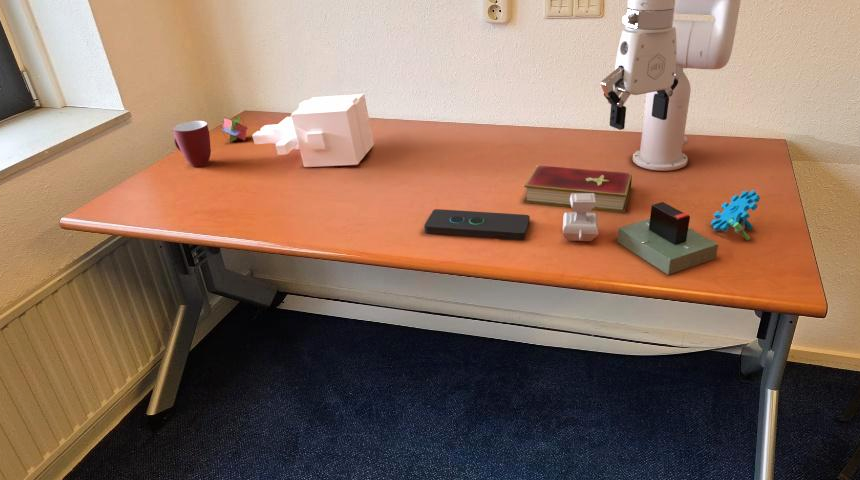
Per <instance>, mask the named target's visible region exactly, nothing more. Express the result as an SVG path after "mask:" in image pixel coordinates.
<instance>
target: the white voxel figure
mask: <svg viewBox="0 0 860 480" xmlns="http://www.w3.org/2000/svg"><path fill="white" fill-rule="evenodd" d="M372 131H373V130H372V126H371V122H370V117H369V111H368V106H367V101H366V95H365V93H354V94H341V95H325V96H312V97H310V99H307V100H302V101H300V103H298V108H297V109H296V110H294V111H293V112H292V113H291V114H290V116H286V117H284V119H282V120H281V121H280V122H279V123H278V124H277V123H276V124H265V125H264V126H262V127H260V130H257V131H255V132H254V133H253V134H252V135H251V136H252V140H253V143H254V145H266V144H275V145H274V146H275V151H276V153H277V156H282V155H289V153H290V152H291V151H293V150H299V153H300V156H301V161H302V164H303V168H312V167H313V168H314V167H315V168H317V167H318V168H319V167H335V166H336V167H337V166H357V165H359V164H360V162H361V161H362V160H364V157H366V155H367V154H368V152H369V151H370V150H371V149H372V147H373V146H374V145H375V143H374V137H373V132H372Z"/></svg>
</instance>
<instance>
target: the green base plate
mask: <svg viewBox="0 0 860 480" xmlns="http://www.w3.org/2000/svg"><path fill="white" fill-rule="evenodd" d="M649 223H650V218H647V219H644V220H641V221H637V222H634V223H629V224H626V225H623V226H621V227H618V229H617V238H616V243H618V244H619V245H621V246H623V247H624V248H626V249H627V250H629V251H630V252H632V253H634V254H635V255H637V256H638V257H639V258H641V259H642V260H644V261H646V262H647V263H649V264H651V265H652V266H654V267H655V268H657V269H658V270H659V271H662V272H663V273H665V274H666V275H668V276H669V275H672V274H675V273H678V272H680V271H683V270H686V269H689V268H692V267H695V266H699V265H701V264H705V263H707V262H709V261H713V260H715V259H716V258H717V255H718V248H719V243H717V242H716V241H714V240H712V239H710V238H708V237H707V236H705V235H703V234H701V233H699V232H698V231H695V230H694V229H692V227H688V233H687V239H686V242H683V243H680V244H677V245H674V244H673V243H671V242H669V241H667V240H666V239H664V238H662V237H661V236H659V235H657V234H656V233H654V232H652V231H650V230H649Z"/></svg>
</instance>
